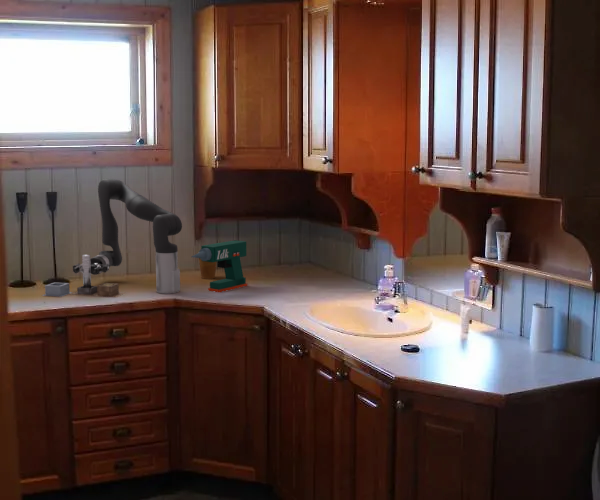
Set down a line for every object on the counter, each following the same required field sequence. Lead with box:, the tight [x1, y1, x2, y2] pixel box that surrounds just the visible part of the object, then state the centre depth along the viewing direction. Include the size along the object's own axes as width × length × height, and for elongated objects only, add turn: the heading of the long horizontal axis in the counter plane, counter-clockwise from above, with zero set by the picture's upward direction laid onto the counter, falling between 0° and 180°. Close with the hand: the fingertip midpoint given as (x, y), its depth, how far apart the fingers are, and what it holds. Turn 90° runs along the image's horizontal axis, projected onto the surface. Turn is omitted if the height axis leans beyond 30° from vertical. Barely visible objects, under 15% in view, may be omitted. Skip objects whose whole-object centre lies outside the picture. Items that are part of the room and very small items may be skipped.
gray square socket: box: [41, 282, 74, 298], centre depth 338 cm, size 9×9×5 cm
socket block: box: [70, 282, 126, 298], centre depth 339 cm, size 21×9×5 cm, turn 75°
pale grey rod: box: [81, 254, 92, 288], centre depth 339 cm, size 3×3×16 cm
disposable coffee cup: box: [198, 258, 217, 280], centre depth 380 cm, size 10×10×12 cm
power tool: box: [191, 240, 248, 293], centre depth 350 cm, size 32×7×20 cm, turn 143°
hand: (85, 271), depth 337 cm, fingers open, 8 cm apart
